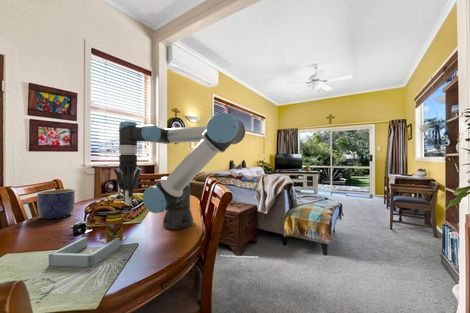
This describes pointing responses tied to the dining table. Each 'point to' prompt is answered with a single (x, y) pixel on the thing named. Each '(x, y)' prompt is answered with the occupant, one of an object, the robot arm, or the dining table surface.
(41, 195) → the planter
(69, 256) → the bay
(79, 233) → the black angular block
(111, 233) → the condiment
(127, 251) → the dining table surface
